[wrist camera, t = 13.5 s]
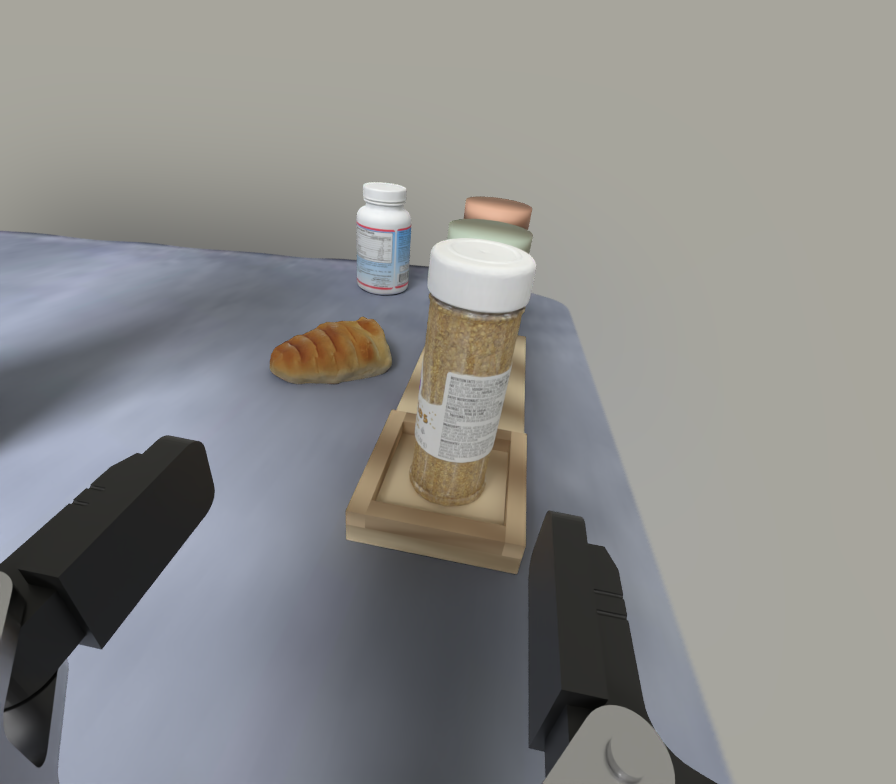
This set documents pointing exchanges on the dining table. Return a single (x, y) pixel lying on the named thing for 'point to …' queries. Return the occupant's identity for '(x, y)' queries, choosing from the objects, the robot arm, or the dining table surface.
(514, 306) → the spice jar
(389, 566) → the dining table surface
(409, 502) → the wooden stand
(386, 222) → the pill bottle
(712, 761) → the dining table surface
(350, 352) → the pastry
